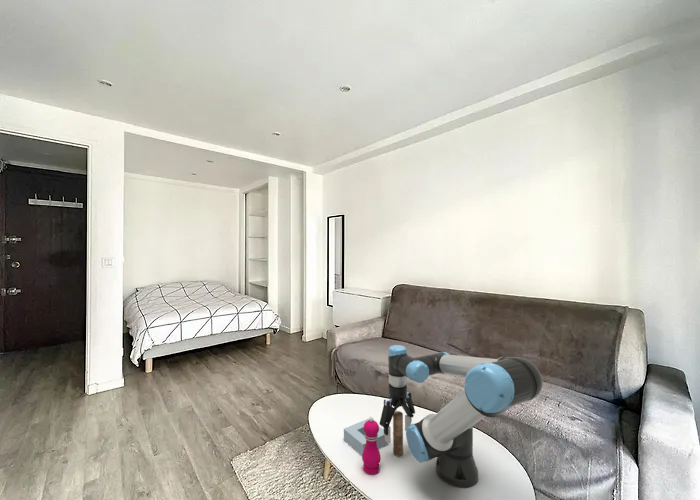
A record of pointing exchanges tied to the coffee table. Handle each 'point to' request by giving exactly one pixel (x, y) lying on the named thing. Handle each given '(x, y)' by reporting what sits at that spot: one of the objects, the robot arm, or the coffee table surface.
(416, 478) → the coffee table surface
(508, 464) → the coffee table surface
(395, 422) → the dowel
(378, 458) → the pepper mill
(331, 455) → the coffee table surface
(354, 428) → the bore block
